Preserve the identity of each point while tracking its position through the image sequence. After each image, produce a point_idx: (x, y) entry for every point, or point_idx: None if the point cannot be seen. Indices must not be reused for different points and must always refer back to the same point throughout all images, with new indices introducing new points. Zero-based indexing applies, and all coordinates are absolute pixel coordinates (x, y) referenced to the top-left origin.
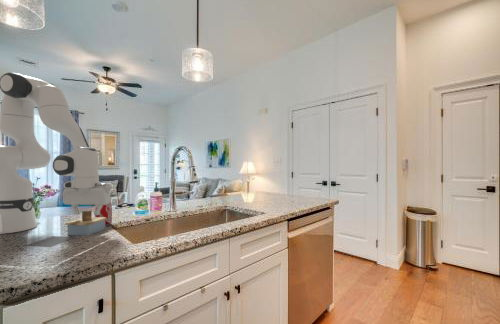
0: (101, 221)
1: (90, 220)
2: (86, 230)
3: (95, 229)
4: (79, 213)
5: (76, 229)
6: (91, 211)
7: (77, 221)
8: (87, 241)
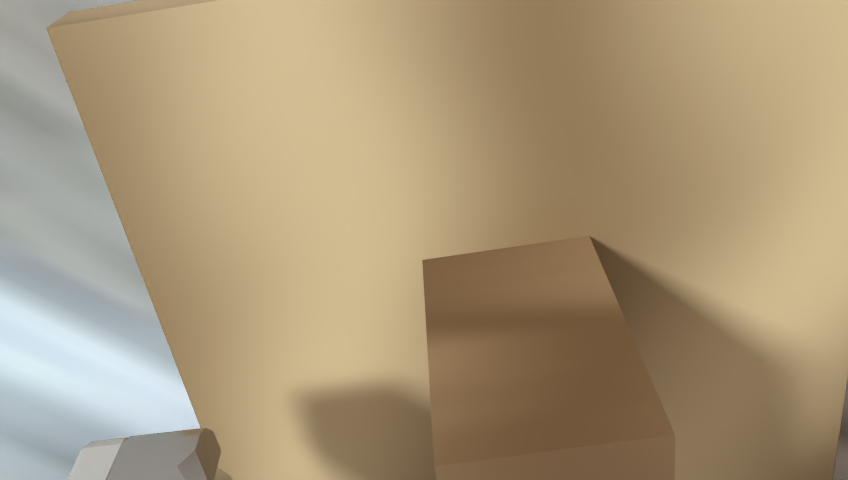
0: None
1: (665, 329)
2: None
3: None
4: (215, 462)
5: None
6: (657, 398)
7: (414, 466)
8: (842, 440)
